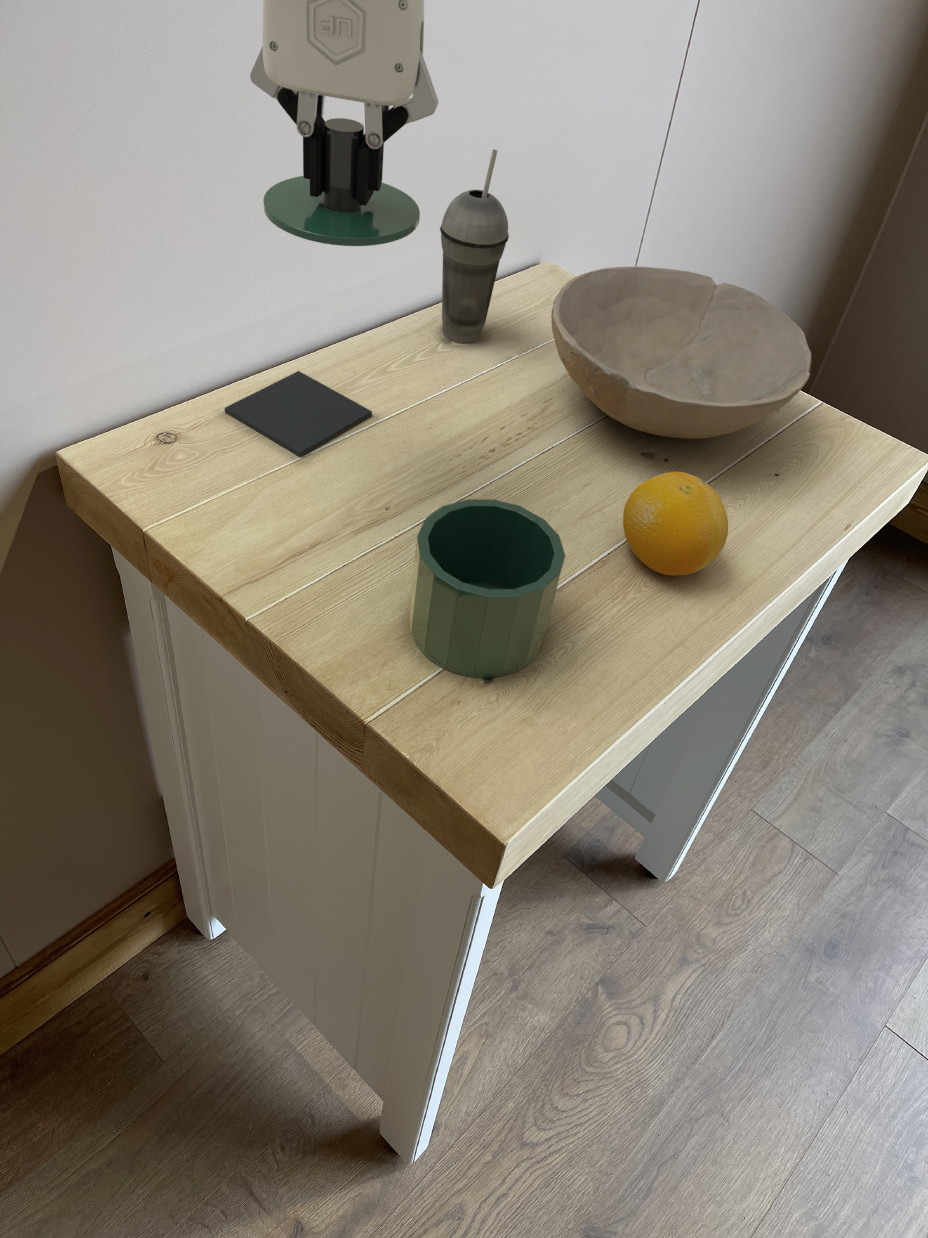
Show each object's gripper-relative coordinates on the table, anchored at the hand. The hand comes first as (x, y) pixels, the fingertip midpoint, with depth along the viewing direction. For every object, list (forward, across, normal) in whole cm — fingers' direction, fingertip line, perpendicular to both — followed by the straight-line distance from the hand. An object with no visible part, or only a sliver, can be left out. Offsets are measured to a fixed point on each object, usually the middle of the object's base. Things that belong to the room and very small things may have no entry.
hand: (342, 191), depth 68 cm
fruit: (+24, +30, -6) cm, 39 cm away
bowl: (+24, +30, +18) cm, 43 cm away
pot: (+24, +16, -18) cm, 34 cm away
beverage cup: (+24, +8, +28) cm, 38 cm away
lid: (+1, 0, 0) cm, 1 cm away
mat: (+24, -5, +6) cm, 26 cm away
